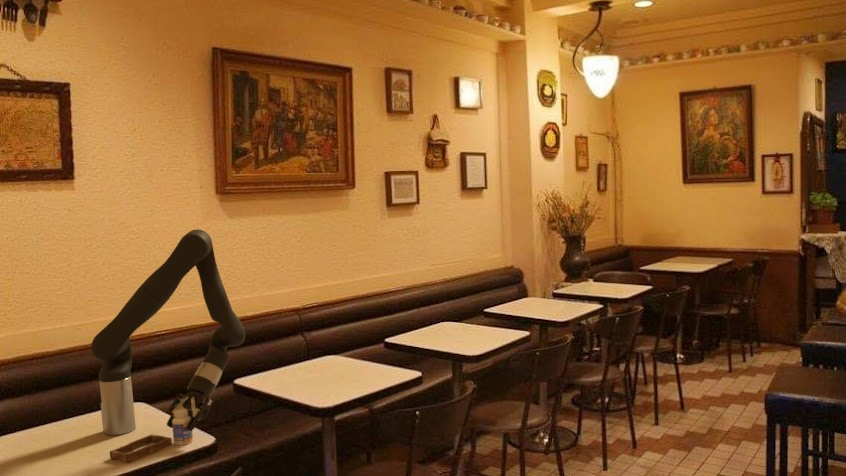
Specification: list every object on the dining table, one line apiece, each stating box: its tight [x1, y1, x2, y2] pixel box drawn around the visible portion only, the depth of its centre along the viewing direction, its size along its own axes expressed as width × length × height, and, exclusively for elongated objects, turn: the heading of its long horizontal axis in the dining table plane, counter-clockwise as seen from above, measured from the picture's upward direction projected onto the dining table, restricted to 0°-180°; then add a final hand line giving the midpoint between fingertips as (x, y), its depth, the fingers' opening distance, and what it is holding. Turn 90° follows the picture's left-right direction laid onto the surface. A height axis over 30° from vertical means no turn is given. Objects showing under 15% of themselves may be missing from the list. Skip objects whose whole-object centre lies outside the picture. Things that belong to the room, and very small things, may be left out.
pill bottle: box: [172, 409, 194, 446], centre depth 210 cm, size 5×5×10 cm
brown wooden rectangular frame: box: [109, 433, 173, 464], centre depth 205 cm, size 9×15×2 cm, turn 149°
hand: (178, 428), depth 209 cm, fingers open, 8 cm apart
